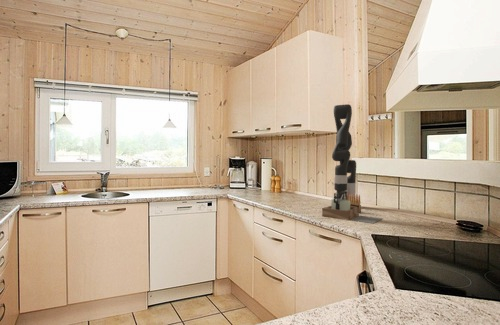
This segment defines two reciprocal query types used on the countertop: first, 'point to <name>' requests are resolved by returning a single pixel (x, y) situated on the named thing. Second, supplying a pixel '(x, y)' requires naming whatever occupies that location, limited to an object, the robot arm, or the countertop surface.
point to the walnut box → (340, 213)
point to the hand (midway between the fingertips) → (340, 209)
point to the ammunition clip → (354, 201)
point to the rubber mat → (366, 219)
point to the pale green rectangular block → (341, 204)
